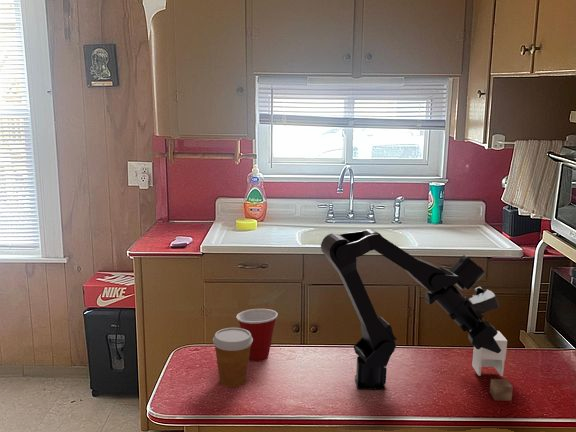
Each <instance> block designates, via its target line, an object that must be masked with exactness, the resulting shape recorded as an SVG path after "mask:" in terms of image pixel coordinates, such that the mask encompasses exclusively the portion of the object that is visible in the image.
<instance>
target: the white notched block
mask: <svg viewBox="0 0 576 432" xmlns="http://www.w3.org/2000/svg"><path fill="white" fill-rule="evenodd" d="M496 331H497V332H498V333H497V335H496V336H495V337H494V339H495V341H496V342H497V344H498V346H499V347H500V349H501V352H499V353H495V352H493V351H490V350H488V349H485V348H482V347H481V348H480V349H476V348H475V347H474V346H473V351H472V360H471V361H472V362H471V367H472V368H473V369H474V371H475V373H476V374H477V376H481V375H482V368H494V369H495V370H496V372H497V373H498V374H499V376H501V377H503V376H504V369H505V361H506V360H507V359H506V357H507V347H508V340H507V339H506V337H505V336H504V335H503V334H502V332H500V330H496Z"/></svg>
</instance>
